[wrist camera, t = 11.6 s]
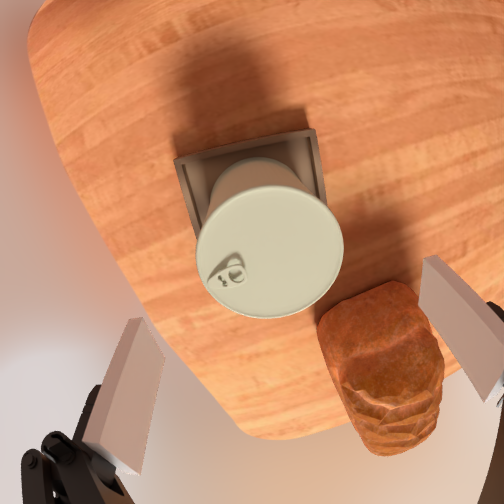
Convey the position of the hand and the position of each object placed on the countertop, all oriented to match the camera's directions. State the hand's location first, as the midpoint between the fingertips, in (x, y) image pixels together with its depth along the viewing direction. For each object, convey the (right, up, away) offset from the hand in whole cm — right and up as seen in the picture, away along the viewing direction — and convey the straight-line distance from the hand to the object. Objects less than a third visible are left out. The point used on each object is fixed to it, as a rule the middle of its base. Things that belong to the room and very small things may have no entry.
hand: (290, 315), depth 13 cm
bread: (+17, -12, +27) cm, 34 cm away
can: (-1, +7, +16) cm, 17 cm away
